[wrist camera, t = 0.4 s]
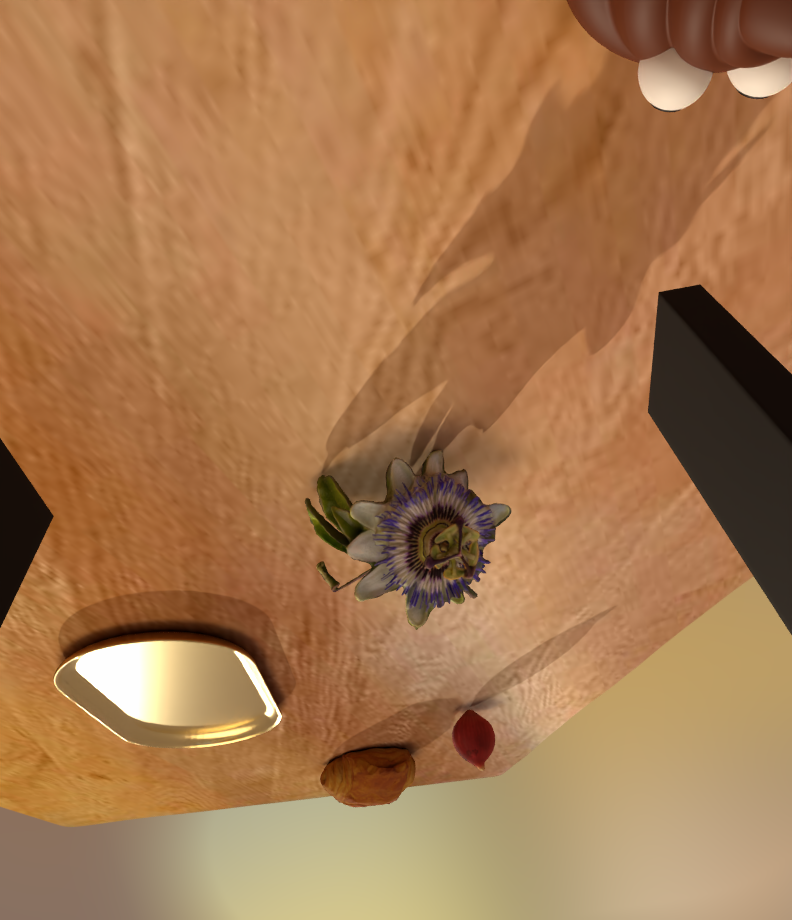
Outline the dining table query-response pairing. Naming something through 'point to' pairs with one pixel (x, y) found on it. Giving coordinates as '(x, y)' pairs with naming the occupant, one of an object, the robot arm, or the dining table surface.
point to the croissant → (369, 776)
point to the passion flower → (411, 535)
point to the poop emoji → (695, 44)
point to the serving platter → (170, 689)
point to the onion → (473, 738)
